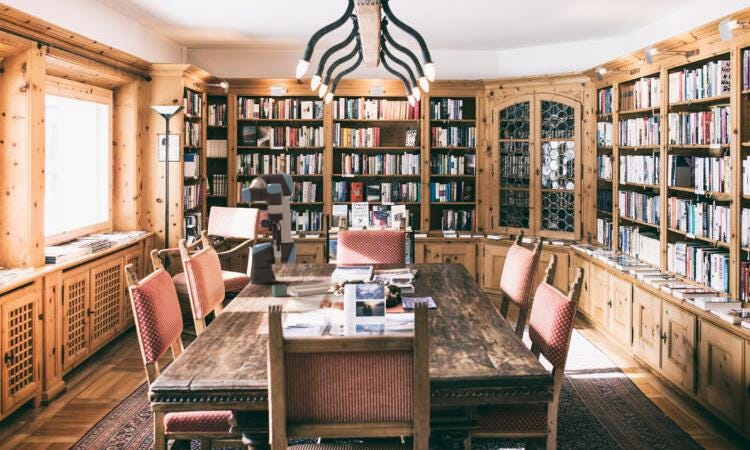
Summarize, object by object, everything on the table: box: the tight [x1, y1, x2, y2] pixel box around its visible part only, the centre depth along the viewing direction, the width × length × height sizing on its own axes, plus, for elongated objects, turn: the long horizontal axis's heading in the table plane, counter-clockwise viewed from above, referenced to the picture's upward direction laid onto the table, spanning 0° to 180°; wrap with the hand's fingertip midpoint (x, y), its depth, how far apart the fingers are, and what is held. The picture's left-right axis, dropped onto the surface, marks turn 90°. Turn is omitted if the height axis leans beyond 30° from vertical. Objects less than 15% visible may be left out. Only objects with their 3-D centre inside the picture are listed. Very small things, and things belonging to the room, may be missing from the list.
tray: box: [290, 282, 333, 297], centre depth 374 cm, size 16×22×2 cm
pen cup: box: [271, 284, 288, 297], centre depth 368 cm, size 7×7×5 cm
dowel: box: [273, 240, 282, 271], centre depth 367 cm, size 3×3×16 cm
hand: (277, 256), depth 367 cm, fingers closed on dowel, 3 cm apart
